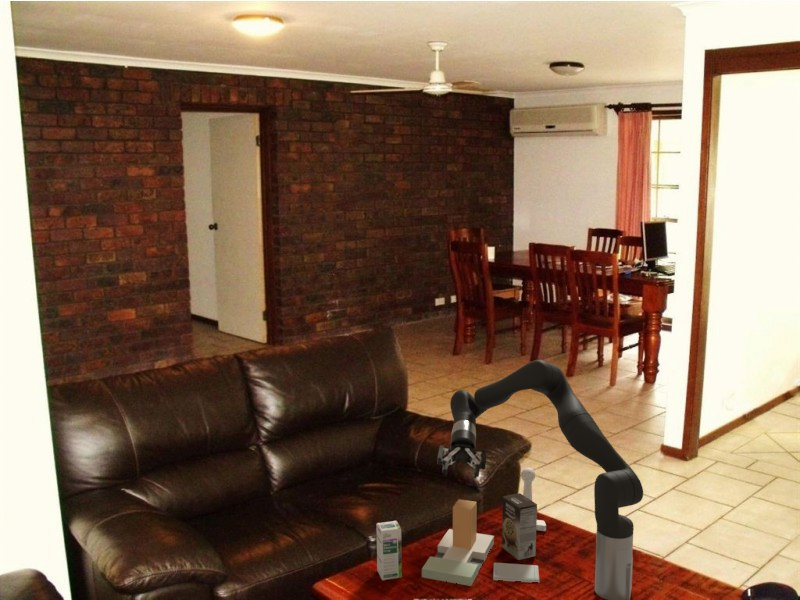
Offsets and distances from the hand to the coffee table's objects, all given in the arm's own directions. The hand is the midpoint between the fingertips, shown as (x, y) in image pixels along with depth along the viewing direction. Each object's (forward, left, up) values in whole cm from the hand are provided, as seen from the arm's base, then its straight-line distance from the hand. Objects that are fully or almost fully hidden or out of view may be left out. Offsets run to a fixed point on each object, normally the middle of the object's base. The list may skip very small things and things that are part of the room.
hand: (460, 474), depth 223 cm
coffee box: (-16, -7, -24) cm, 30 cm away
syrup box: (+15, +18, -24) cm, 34 cm away
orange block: (-1, -2, -22) cm, 22 cm away
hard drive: (-18, +6, -25) cm, 31 cm away
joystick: (-16, -21, -24) cm, 36 cm away
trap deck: (-1, +4, -24) cm, 24 cm away
